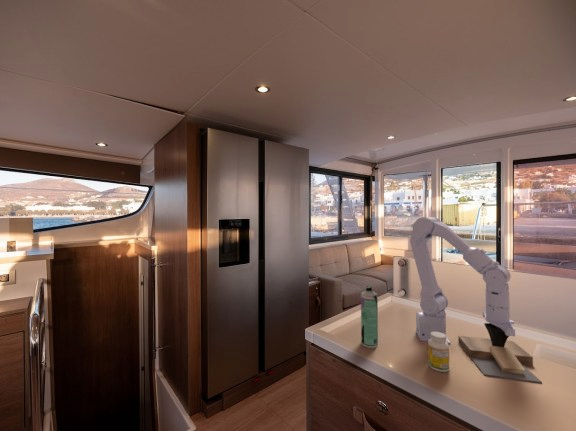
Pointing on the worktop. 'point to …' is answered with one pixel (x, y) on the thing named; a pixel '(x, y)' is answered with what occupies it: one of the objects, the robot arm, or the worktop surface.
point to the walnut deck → (481, 350)
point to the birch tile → (506, 360)
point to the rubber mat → (494, 370)
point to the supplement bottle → (438, 352)
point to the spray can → (369, 318)
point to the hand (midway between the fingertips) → (497, 349)
